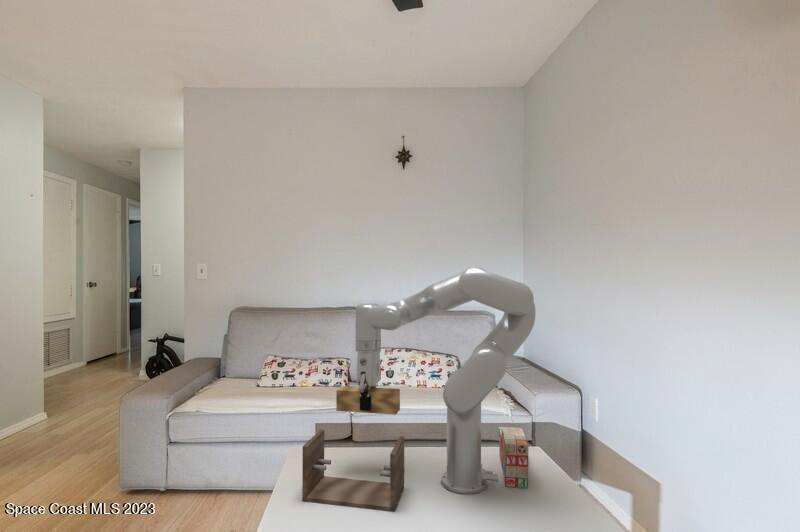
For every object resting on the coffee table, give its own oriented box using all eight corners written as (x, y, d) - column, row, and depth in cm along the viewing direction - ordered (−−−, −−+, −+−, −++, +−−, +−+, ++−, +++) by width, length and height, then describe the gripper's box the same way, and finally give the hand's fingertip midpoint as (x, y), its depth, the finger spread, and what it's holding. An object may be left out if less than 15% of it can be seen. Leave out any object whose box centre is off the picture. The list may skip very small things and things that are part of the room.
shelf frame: (404, 487, 118) (404, 436, 118) (394, 511, 106) (394, 454, 106) (320, 479, 123) (320, 429, 123) (302, 501, 111) (302, 446, 111)
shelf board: (399, 409, 128) (399, 388, 128) (396, 414, 123) (396, 393, 123) (342, 405, 131) (342, 385, 132) (336, 410, 127) (336, 390, 127)
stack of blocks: (498, 455, 139) (498, 417, 140) (518, 456, 139) (518, 418, 139) (505, 487, 118) (505, 442, 118) (528, 489, 117) (528, 444, 118)
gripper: (372, 351, 118) (372, 417, 118) (387, 341, 135) (387, 399, 135) (346, 350, 120) (346, 415, 120) (364, 340, 137) (364, 398, 136)
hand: (368, 406), depth 127 cm, fingers closed on shelf board, 5 cm apart
